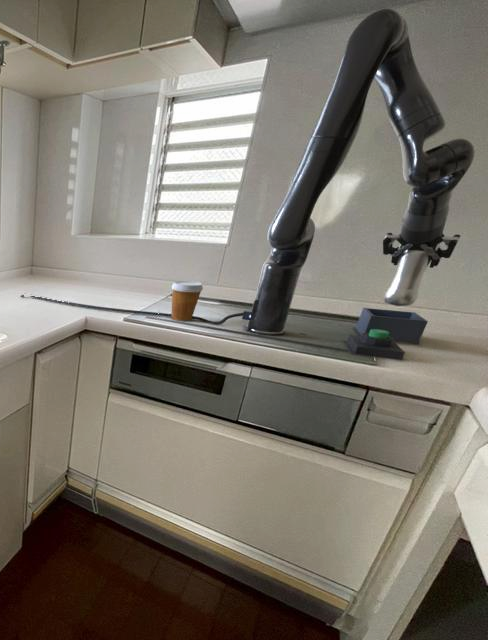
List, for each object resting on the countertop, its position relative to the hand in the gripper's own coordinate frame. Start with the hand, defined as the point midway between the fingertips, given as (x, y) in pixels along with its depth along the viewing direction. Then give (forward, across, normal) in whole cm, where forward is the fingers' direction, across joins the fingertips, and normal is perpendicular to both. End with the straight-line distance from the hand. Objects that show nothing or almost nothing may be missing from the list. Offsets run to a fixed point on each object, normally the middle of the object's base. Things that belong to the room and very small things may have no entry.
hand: (414, 263), depth 111 cm
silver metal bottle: (+7, 0, +9) cm, 12 cm away
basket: (+14, 0, +16) cm, 21 cm away
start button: (-3, -1, +27) cm, 27 cm away
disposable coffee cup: (-5, +48, +34) cm, 59 cm away
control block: (0, -1, +30) cm, 30 cm away
